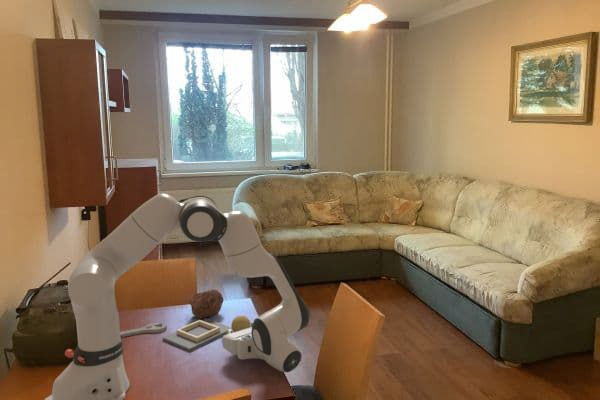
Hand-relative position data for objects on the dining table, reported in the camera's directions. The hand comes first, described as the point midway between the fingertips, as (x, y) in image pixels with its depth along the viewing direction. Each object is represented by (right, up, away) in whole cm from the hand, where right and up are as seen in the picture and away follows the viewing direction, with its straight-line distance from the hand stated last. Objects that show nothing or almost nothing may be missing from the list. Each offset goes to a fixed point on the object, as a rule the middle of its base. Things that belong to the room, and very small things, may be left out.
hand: (240, 327), depth 172 cm
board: (-16, -5, +8) cm, 18 cm away
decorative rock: (-16, -2, +26) cm, 30 cm away
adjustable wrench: (-40, -5, +10) cm, 42 cm away
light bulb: (0, -6, +1) cm, 6 cm away
